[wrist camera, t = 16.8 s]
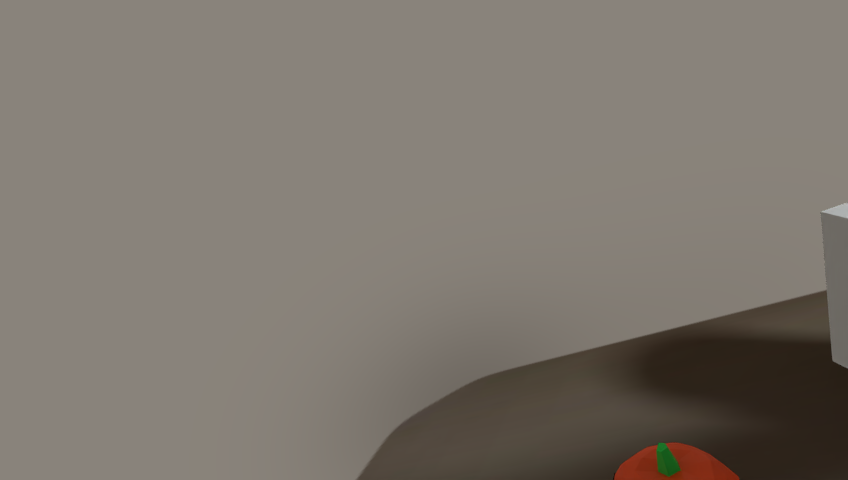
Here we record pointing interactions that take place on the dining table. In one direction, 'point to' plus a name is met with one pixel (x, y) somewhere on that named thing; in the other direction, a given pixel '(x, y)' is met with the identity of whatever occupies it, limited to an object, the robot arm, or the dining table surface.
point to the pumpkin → (673, 464)
